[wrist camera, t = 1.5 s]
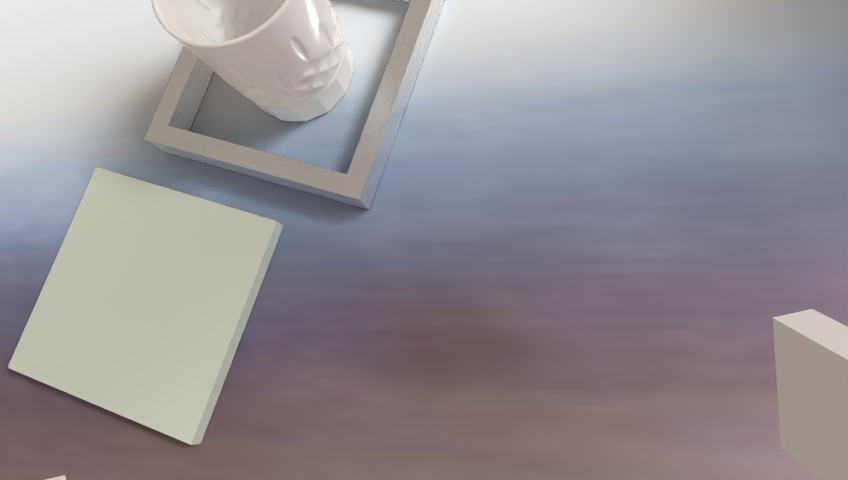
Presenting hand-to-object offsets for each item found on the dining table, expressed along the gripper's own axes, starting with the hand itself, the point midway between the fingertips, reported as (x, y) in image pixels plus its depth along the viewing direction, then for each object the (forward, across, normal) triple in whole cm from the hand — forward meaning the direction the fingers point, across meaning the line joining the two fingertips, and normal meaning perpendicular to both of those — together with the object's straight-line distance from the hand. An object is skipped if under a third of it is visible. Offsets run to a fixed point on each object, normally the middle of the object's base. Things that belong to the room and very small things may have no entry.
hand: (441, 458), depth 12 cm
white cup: (+32, -3, +8) cm, 33 cm away
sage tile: (+28, -15, -3) cm, 32 cm away
